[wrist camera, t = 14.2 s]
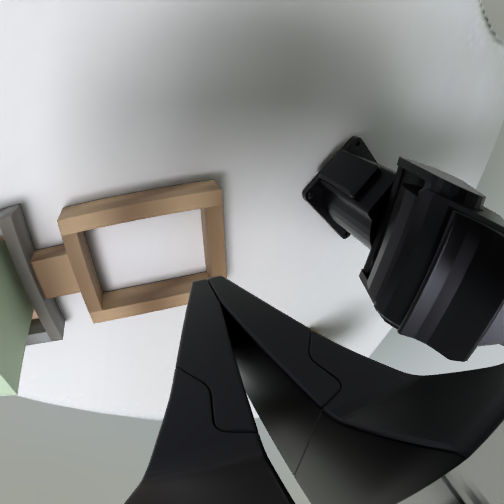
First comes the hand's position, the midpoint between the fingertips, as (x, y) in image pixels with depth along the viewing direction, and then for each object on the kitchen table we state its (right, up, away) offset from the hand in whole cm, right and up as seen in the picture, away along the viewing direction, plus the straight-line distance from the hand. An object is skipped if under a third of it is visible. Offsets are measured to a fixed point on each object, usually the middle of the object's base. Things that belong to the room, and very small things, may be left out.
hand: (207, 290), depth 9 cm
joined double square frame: (-11, 0, +10) cm, 15 cm away
